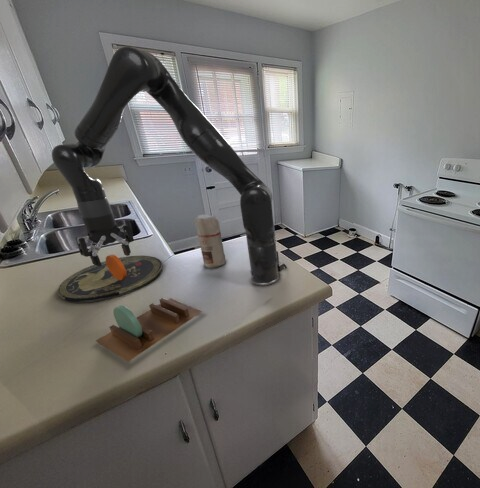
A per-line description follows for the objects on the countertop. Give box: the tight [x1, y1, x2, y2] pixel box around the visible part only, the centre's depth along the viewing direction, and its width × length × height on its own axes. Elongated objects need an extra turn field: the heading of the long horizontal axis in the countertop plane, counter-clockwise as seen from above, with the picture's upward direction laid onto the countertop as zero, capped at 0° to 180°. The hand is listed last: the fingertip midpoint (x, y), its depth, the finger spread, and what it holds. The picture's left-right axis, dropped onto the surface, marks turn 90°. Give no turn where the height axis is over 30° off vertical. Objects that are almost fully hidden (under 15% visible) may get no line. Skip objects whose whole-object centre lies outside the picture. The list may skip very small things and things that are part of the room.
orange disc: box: [105, 254, 127, 280], centre depth 90 cm, size 1×9×9 cm, turn 62°
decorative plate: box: [57, 255, 164, 304], centre depth 96 cm, size 30×2×30 cm
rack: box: [95, 297, 203, 362], centre depth 71 cm, size 20×14×4 cm
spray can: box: [193, 213, 227, 269], centre depth 102 cm, size 8×8×20 cm
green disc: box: [112, 304, 142, 338], centre depth 65 cm, size 1×9×9 cm, turn 63°
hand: (113, 260), depth 89 cm, fingers open, 8 cm apart
